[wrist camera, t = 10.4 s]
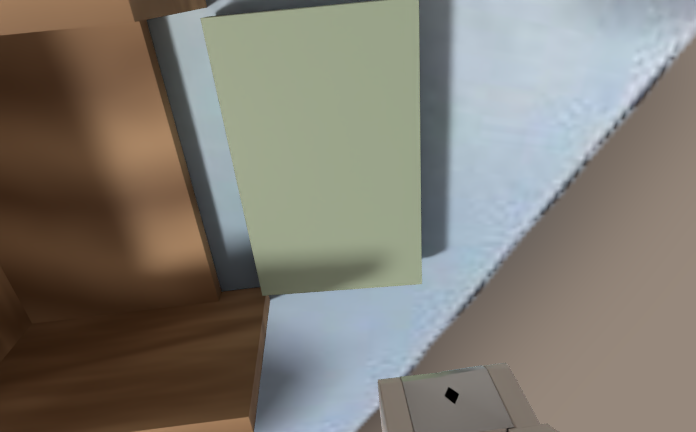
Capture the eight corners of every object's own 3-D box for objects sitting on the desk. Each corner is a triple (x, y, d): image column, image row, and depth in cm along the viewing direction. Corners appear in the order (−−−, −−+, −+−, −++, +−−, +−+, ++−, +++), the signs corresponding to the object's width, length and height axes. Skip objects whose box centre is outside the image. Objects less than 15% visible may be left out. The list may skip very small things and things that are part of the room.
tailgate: (200, 18, 20) (418, -3, 20) (207, 16, 21) (415, -4, 21) (262, 295, 28) (421, 283, 27) (265, 284, 29) (418, 272, 28)
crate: (-148, 13, 20) (-501, 33, 11) (200, -21, 21) (121, -27, 12) (30, 329, 29) (-92, 477, 20) (269, 300, 30) (253, 433, 21)
